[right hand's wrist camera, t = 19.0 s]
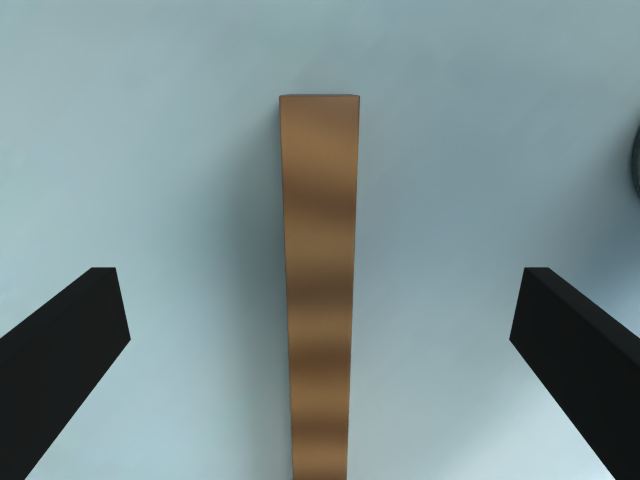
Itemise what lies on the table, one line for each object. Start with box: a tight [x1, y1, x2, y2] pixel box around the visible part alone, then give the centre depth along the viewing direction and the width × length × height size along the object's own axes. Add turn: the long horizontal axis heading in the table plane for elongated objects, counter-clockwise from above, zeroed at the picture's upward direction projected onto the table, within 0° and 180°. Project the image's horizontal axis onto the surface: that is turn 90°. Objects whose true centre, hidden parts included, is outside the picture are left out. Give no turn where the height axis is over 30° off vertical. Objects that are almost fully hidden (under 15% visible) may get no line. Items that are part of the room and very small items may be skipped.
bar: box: [279, 94, 360, 480], centre depth 39 cm, size 59×5×7 cm, turn 0°
